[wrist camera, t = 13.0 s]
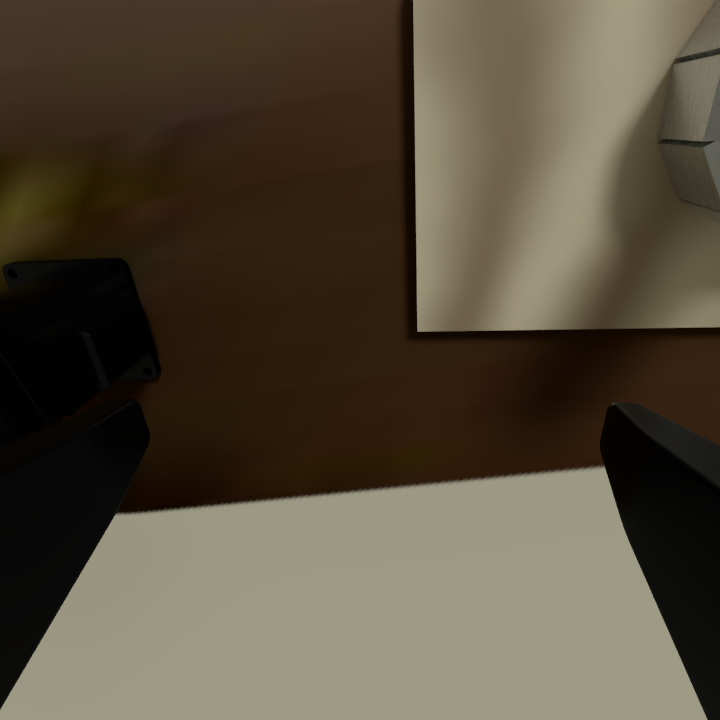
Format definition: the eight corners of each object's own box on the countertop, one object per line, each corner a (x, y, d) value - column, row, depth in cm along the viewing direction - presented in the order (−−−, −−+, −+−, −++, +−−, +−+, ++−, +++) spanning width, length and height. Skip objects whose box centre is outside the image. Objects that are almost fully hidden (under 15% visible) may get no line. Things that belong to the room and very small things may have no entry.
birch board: (417, 323, 22) (417, 331, 21) (413, -25, 16) (412, -34, 15) (847, 315, 19) (868, 324, 18) (1038, -102, 13) (1082, -118, 12)
